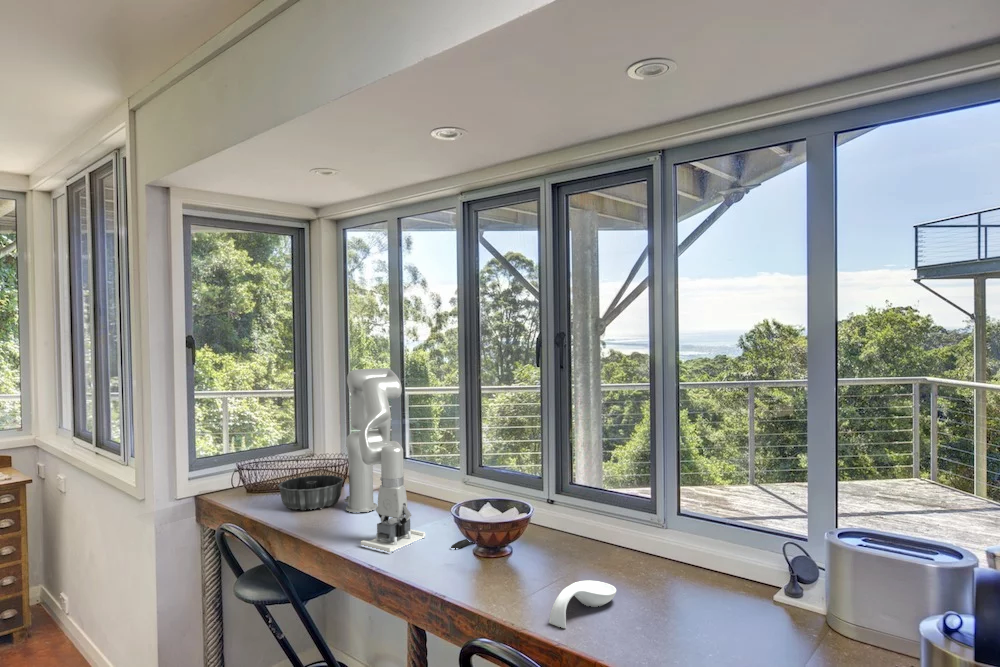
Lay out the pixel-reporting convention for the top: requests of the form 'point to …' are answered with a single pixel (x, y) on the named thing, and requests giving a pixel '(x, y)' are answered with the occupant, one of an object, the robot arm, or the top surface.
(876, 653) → the top surface
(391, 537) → the block
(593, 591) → the spoon rest
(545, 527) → the top surface
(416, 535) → the tray
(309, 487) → the bundt pan
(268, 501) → the top surface
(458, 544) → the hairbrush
